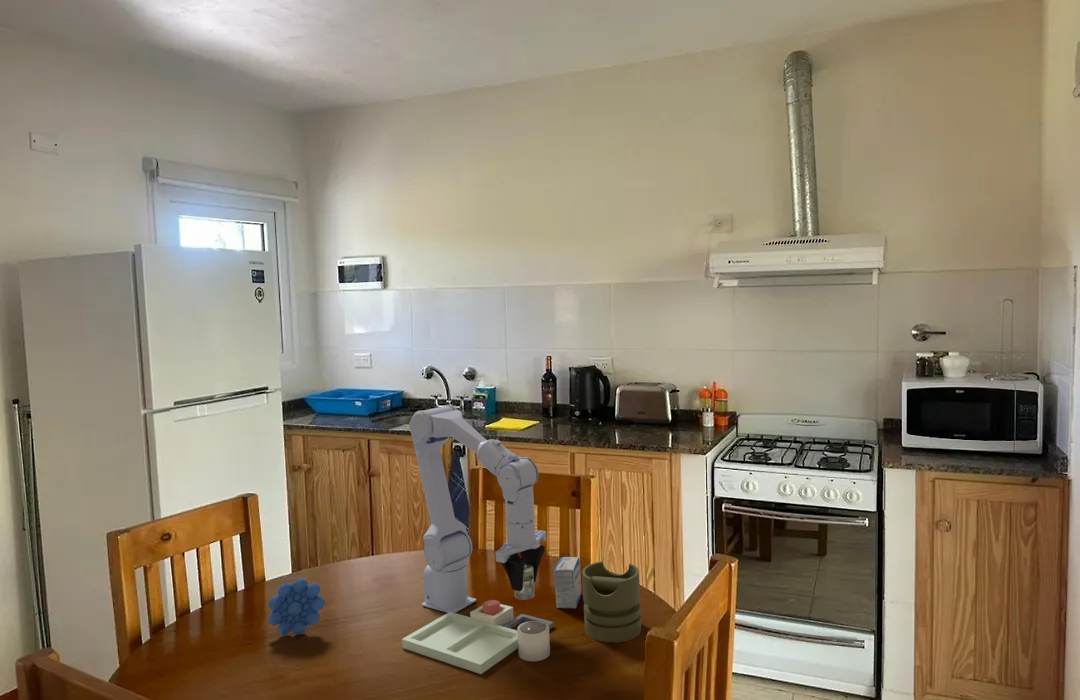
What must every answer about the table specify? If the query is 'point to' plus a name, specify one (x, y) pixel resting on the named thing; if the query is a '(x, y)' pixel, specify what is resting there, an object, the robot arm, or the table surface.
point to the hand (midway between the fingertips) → (523, 585)
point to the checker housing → (498, 619)
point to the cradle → (526, 619)
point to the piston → (611, 603)
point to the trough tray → (463, 642)
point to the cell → (526, 584)
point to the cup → (533, 641)
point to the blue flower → (296, 607)
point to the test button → (491, 607)
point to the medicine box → (567, 582)
